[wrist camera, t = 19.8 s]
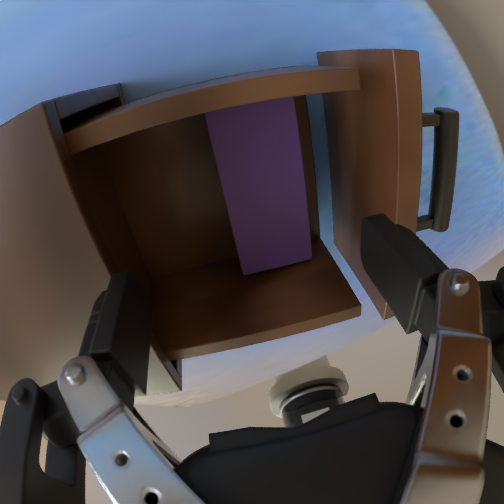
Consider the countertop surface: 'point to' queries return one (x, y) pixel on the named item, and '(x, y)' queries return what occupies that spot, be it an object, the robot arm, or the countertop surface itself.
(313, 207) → the drawer
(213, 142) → the purple rectangular block
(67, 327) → the cabinet
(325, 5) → the countertop surface
